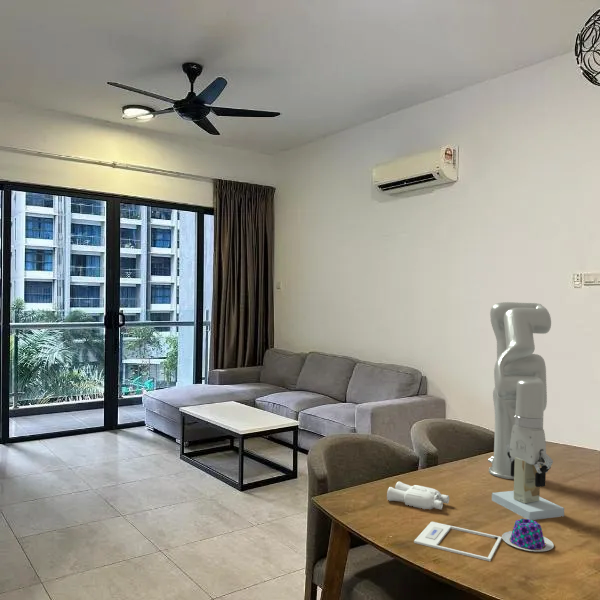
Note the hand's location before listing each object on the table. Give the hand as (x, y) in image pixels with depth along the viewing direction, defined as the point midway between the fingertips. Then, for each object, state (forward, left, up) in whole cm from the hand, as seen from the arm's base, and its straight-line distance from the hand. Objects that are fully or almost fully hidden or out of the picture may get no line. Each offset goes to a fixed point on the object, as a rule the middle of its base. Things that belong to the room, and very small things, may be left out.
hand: (527, 481), depth 165 cm
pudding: (+19, -18, -8) cm, 27 cm away
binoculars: (-13, -29, -8) cm, 33 cm away
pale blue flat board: (0, 0, -9) cm, 9 cm away
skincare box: (0, 0, -6) cm, 6 cm away
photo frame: (+13, -34, -8) cm, 37 cm away
